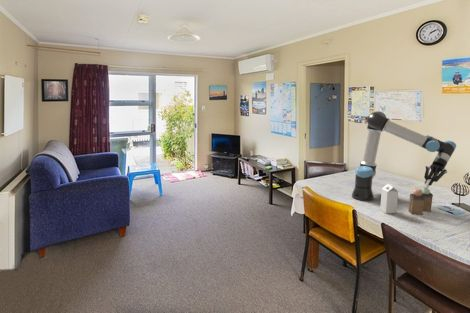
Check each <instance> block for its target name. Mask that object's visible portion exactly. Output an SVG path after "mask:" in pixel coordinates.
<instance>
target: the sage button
mask: <svg viewBox="0 0 470 313" xmlns="http://www.w3.org/2000/svg"><path fill="white" fill-rule="evenodd" d="M421 190H422V194H430V193H431V190H430V189H429V188H428V189H427V190H426V189H424V188H421Z"/></svg>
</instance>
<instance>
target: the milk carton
mask: <svg viewBox="0 0 470 313" xmlns="http://www.w3.org/2000/svg"><path fill="white" fill-rule="evenodd" d="M380 195H381V197H380V207H379V210H380V211H382V212H383V213H384V214H396V213H397V212H398V211H397V210H398V209H397V208H398V201H399V200H398V199H399V191H398V190H397V189H396V188H395V187H394V185H393V184H391V183H389V182H386V184H385V185H384V186H383V187H382V188H381V194H380Z"/></svg>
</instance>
